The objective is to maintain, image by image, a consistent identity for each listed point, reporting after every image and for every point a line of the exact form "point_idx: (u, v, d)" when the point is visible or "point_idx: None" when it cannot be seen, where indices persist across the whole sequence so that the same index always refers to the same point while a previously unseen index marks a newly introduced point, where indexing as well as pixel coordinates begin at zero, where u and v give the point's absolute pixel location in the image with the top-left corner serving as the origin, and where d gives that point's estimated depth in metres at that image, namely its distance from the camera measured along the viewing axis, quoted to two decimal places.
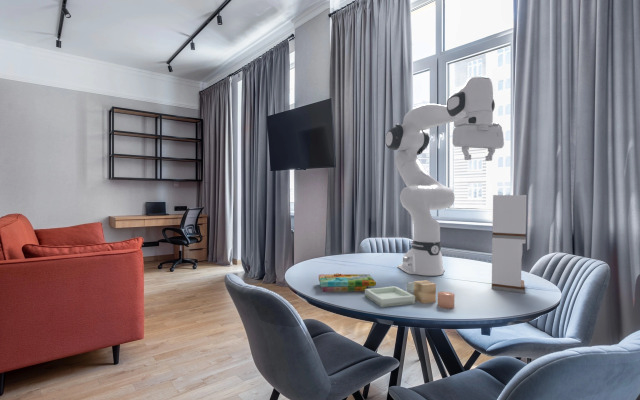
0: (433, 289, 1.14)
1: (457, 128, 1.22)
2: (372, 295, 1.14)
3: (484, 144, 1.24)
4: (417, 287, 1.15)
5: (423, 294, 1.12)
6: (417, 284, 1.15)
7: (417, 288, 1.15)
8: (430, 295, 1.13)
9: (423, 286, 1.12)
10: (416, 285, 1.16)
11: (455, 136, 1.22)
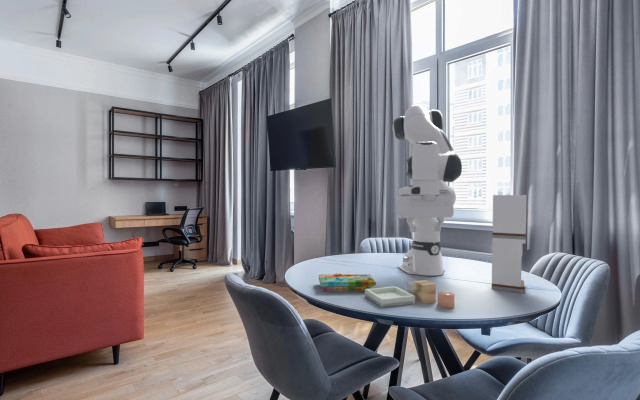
0: (433, 289, 1.14)
1: (400, 198, 1.12)
2: (372, 295, 1.14)
3: (431, 215, 1.13)
4: (417, 287, 1.15)
5: (423, 294, 1.12)
6: (417, 284, 1.15)
7: (417, 288, 1.15)
8: (430, 295, 1.13)
9: (423, 286, 1.12)
10: (416, 285, 1.16)
11: (398, 207, 1.12)
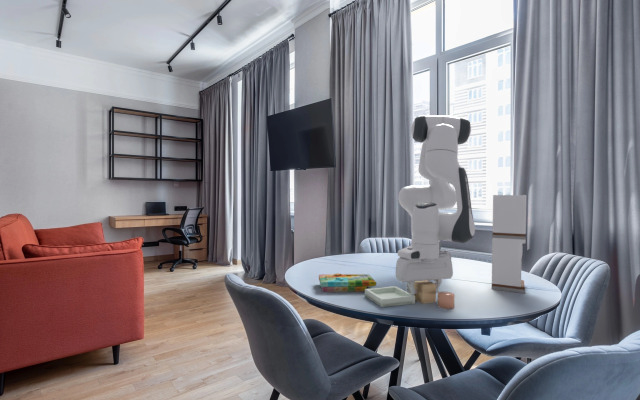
0: (433, 289, 1.14)
1: (400, 261, 1.12)
2: (372, 295, 1.14)
3: (430, 278, 1.13)
4: (417, 287, 1.15)
5: (423, 294, 1.12)
6: (417, 284, 1.15)
7: (417, 288, 1.15)
8: (430, 295, 1.13)
9: (423, 286, 1.12)
10: (416, 285, 1.16)
11: (397, 270, 1.12)
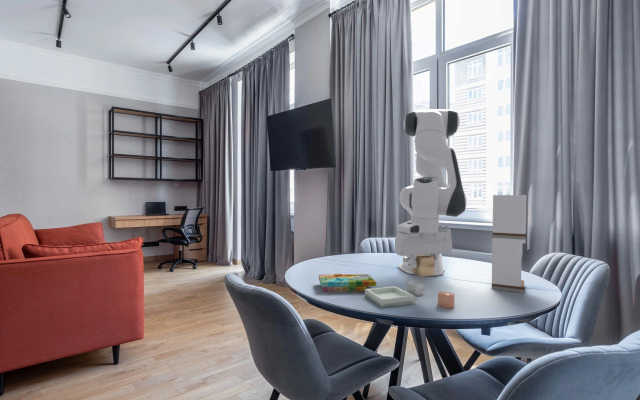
0: (432, 263, 1.14)
1: (399, 235, 1.13)
2: (372, 295, 1.14)
3: (429, 252, 1.14)
4: (416, 260, 1.16)
5: (422, 267, 1.13)
6: (416, 257, 1.16)
7: (416, 261, 1.16)
8: (429, 268, 1.14)
9: (422, 259, 1.13)
10: None
11: (397, 244, 1.13)
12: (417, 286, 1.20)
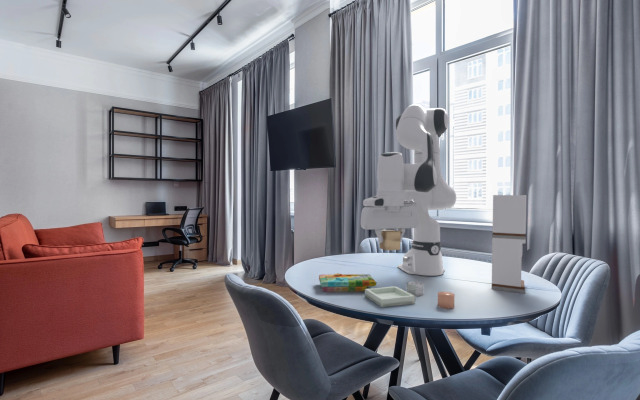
0: (398, 237, 1.14)
1: (364, 209, 1.12)
2: (372, 295, 1.14)
3: (395, 226, 1.14)
4: (382, 235, 1.15)
5: (387, 241, 1.12)
6: (382, 232, 1.15)
7: (382, 236, 1.15)
8: (395, 242, 1.13)
9: (387, 233, 1.12)
10: (381, 233, 1.16)
11: (362, 218, 1.12)
12: (417, 286, 1.20)
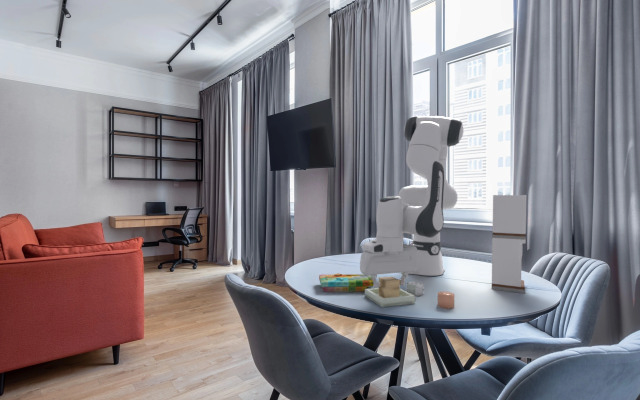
0: (397, 285, 1.14)
1: (364, 254, 1.13)
2: (372, 295, 1.14)
3: (395, 271, 1.14)
4: (381, 283, 1.16)
5: (387, 290, 1.13)
6: (381, 280, 1.16)
7: (381, 284, 1.16)
8: (394, 291, 1.14)
9: (386, 282, 1.13)
10: (380, 281, 1.16)
11: (361, 263, 1.13)
12: (417, 286, 1.20)
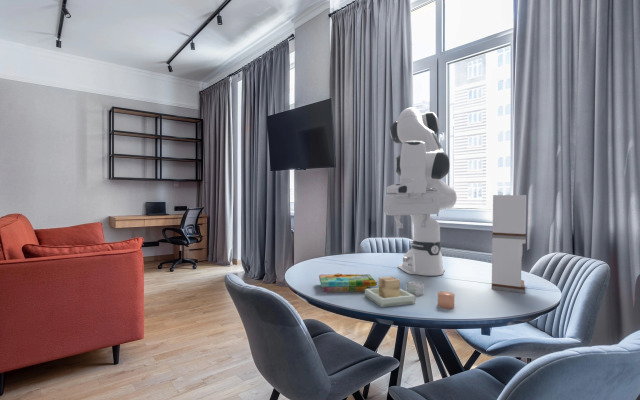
0: (397, 285, 1.14)
1: (388, 196, 1.17)
2: (372, 295, 1.14)
3: (417, 212, 1.18)
4: (381, 283, 1.16)
5: (387, 290, 1.13)
6: (381, 280, 1.16)
7: (381, 284, 1.16)
8: (394, 291, 1.14)
9: (386, 282, 1.13)
10: (380, 281, 1.16)
11: (386, 205, 1.17)
12: (417, 286, 1.20)
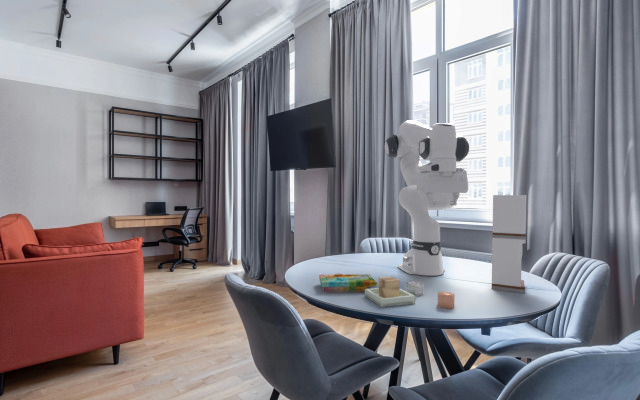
0: (397, 285, 1.14)
1: (421, 175, 1.23)
2: (372, 295, 1.14)
3: (448, 190, 1.25)
4: (381, 283, 1.16)
5: (387, 290, 1.13)
6: (381, 280, 1.16)
7: (381, 284, 1.16)
8: (394, 291, 1.14)
9: (386, 282, 1.13)
10: (380, 281, 1.16)
11: (418, 183, 1.23)
12: (417, 286, 1.20)
